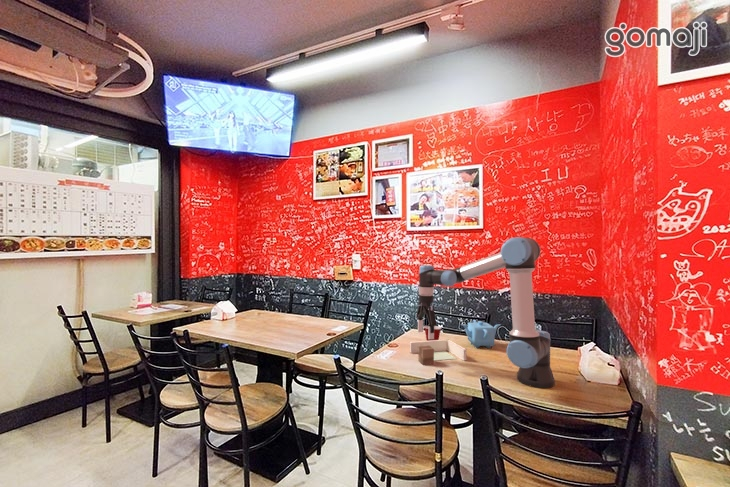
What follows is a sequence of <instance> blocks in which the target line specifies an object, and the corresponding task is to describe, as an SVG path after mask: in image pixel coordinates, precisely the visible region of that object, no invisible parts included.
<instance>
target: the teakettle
mask: <svg viewBox="0 0 730 487" xmlns="http://www.w3.org/2000/svg"><path fill="white" fill-rule="evenodd" d="M472 320H473V322H470V321H469V322H467V324H465V323H462V324H461V323H460V325H461V326H463V328H464V330H465V334H466V335H467V340H468V341H469V343H470V344H471V345H473V347H474V348H475V347H476V349H479V348H480V346H481V347H486V348H487V349H491V348H492V347H494V346H495V345H496V344H495V343H496V342H495V337H496V336H495V335H496V332H497V330H498V328H499V326H501V325H502V324H499V323H498V324H495V325H494V326H493V325H491V324H489V323H488V322H484V321H481V320H479V321H477V320H476V319H472ZM495 347H496V346H495Z"/></svg>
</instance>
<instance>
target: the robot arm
mask: <svg viewBox="0 0 730 487" xmlns="http://www.w3.org/2000/svg"><path fill="white" fill-rule="evenodd" d="M540 255H541V246H540V245H539V243H538V242H537V241H536V240H535V239H532V238H530V237H522V236H516V237H511V238H508V239H507V240H505V242H504V243H503V244H502V245H501V248H500V252H498V253H495V254H491V255H490V256H486V257H484V258H481V259H478V260H476V261H473V262H470V263H468V264H465V265H462V266H459V267H457V268H452V269H435V267H434V265H430V264H425V265H424V264H422V265H420V266H419V272H418V278H419V279H418V284H419V285H418V294H419V295H418V306H417V310H416V315H415V317H416V319H417V333H423V332H424V317H425V315H426V317H427V321H428V325H427V326H429V333H428V339H434V326H437V325H438V324H437V320H436V315H435V307H434V305H432V304H433V303H434V290H435V288H434V285H438V286H444V287H454V286H455V284H462V283H464V282H465V281H468V280H471V279H474V278H477V277H480V276H483V275H486V274H490V273H493V272H496V271H499V270H501V269H505V270H506V271H507V272H508V273H509V282H510V283H509V284H510V285H509V287H510V300H511V301H510V302H511V303H510V304H511V318H512V319H511V320H512V329H511V330H510V331H509V332H508V333H509V343H508V344H507V346H506V356H507V358H508V360H509V361H510V363H512V364H513V365H514V366H516V367H517V368H518V371H517V374H516V379H517V381H519V383H522V384H524V385H525V386H529V387H533V388H538V389H548V388H549V389H550V388H554V387H555V385H556V384H555V383H556V382H555V381H556V379H555V377H554V373H553V370H552V368H551V340H552V339H551V334H550V333H549V332H548V331H545V330H540V329H536V325H535V324H536V321H535V320H536V318H535V305H534V303H535V302H534V290H533V276H532V274H533V272H534V271H535V270H536V261H537V260H538V259H539V257H540Z"/></svg>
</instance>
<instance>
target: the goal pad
mask: <svg viewBox="0 0 730 487" xmlns="http://www.w3.org/2000/svg"><path fill="white" fill-rule="evenodd" d="M457 358H458V357H455V355H453V354H451V353H450V352H448V351H434V362H436V361H437V362H438V361H448V360H451V361H452V360H457Z"/></svg>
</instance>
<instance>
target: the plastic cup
mask: <svg viewBox="0 0 730 487" xmlns="http://www.w3.org/2000/svg"><path fill="white" fill-rule="evenodd" d="M423 330H424V332H425V339H426V340H425V341H431V340H440V334H441V330H442V327H441V326H437V325H436V326H434V339H428V333H429V326H428V325H423Z"/></svg>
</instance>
